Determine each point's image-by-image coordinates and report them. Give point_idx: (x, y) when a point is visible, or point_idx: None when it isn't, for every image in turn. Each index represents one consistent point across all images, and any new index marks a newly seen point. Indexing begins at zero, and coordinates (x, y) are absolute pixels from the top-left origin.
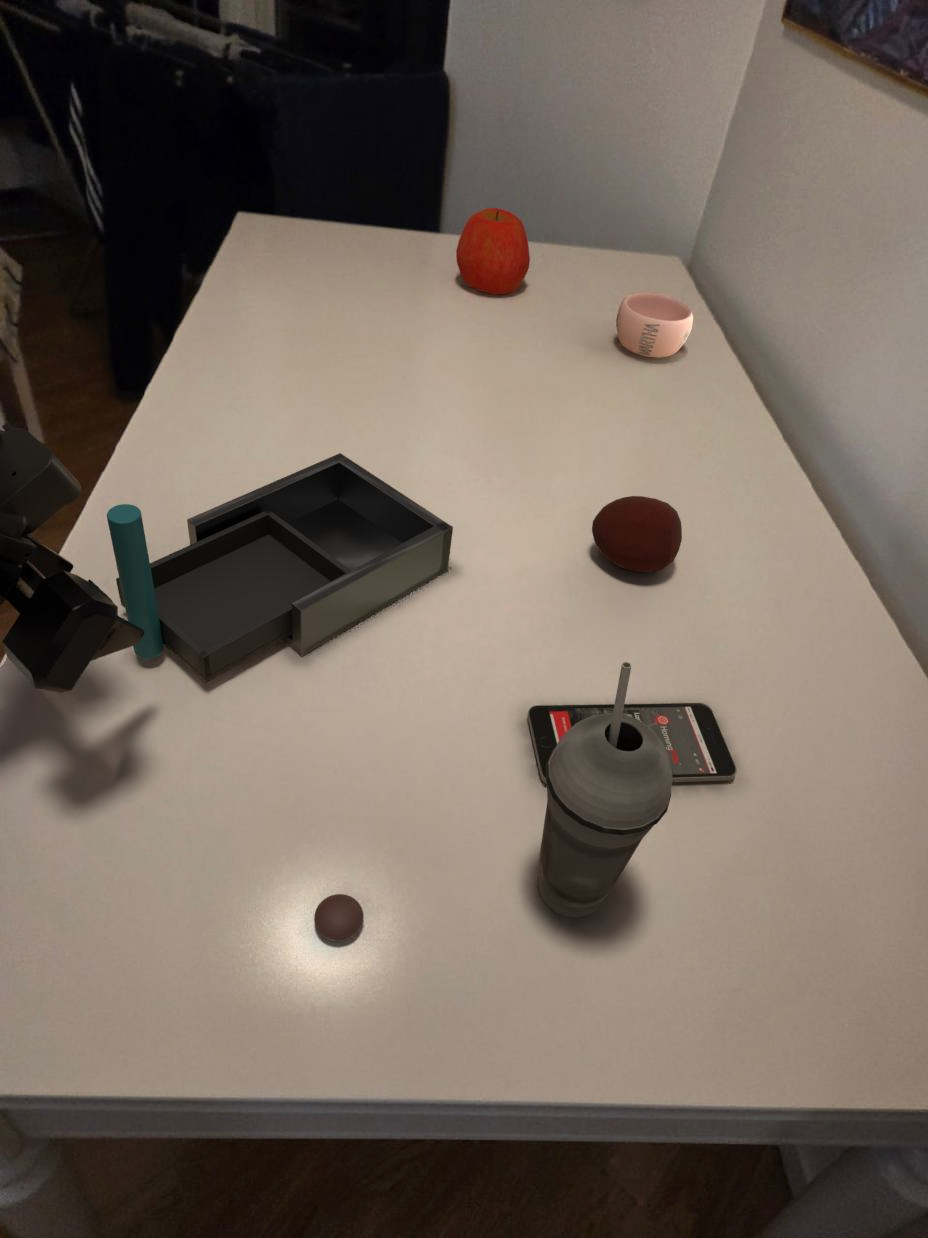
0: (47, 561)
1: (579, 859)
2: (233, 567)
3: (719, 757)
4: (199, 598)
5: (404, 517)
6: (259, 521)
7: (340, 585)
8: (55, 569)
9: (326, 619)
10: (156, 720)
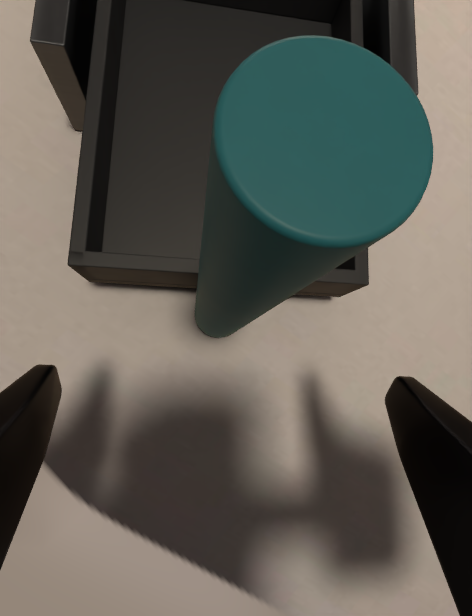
0: (16, 450)
1: None
2: (157, 90)
3: None
4: (184, 181)
5: None
6: None
7: (406, 3)
8: (42, 425)
9: None
10: (329, 386)
